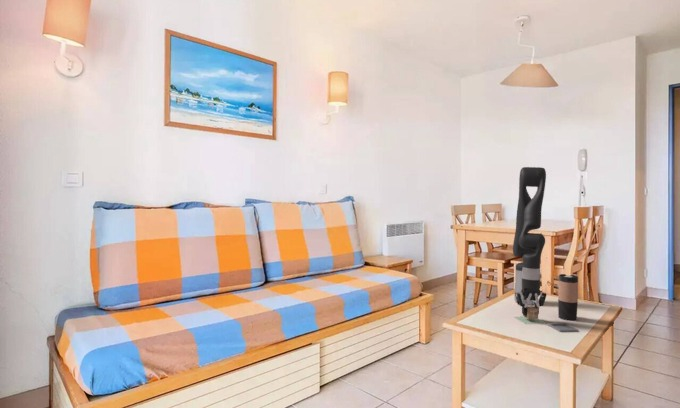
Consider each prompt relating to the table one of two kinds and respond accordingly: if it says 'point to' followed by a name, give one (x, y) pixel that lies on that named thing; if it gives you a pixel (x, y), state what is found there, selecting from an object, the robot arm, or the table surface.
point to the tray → (563, 327)
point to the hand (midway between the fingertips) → (530, 315)
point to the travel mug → (568, 297)
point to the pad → (530, 320)
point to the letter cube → (532, 312)
